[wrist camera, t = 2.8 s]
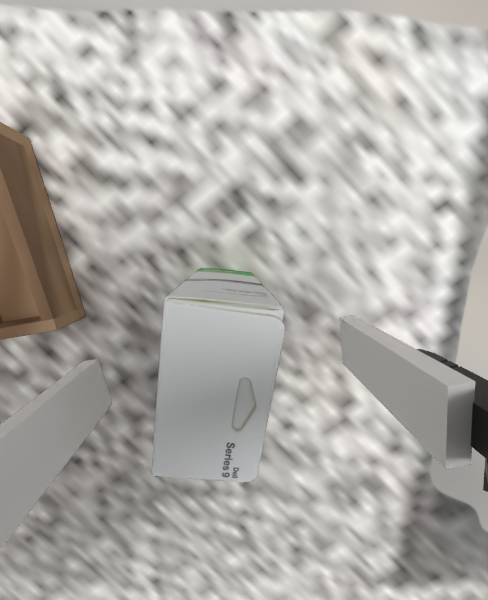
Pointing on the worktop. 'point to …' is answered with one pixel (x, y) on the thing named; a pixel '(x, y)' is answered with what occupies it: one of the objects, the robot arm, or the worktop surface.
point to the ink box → (216, 376)
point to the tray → (30, 248)
